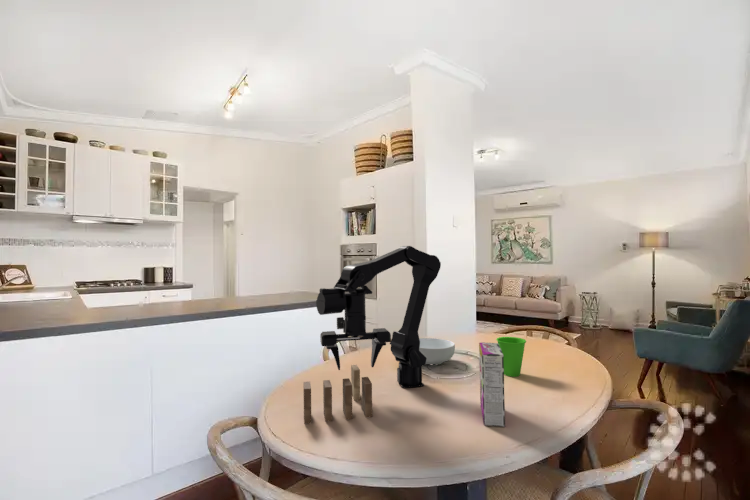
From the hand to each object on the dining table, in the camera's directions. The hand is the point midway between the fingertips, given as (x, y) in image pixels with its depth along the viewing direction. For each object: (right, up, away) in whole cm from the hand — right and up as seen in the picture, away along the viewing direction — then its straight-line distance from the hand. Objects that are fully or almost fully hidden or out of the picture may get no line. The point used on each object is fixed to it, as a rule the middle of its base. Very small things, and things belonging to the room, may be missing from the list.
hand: (355, 368), depth 105 cm
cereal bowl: (+25, -8, +32) cm, 42 cm away
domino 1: (-11, -8, -14) cm, 19 cm away
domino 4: (0, -8, 0) cm, 8 cm away
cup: (+49, -8, +18) cm, 52 cm away
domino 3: (-1, -8, -12) cm, 14 cm away
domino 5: (+3, -8, -11) cm, 14 cm away
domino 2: (-6, -8, -13) cm, 16 cm away
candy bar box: (+33, -8, -13) cm, 36 cm away
